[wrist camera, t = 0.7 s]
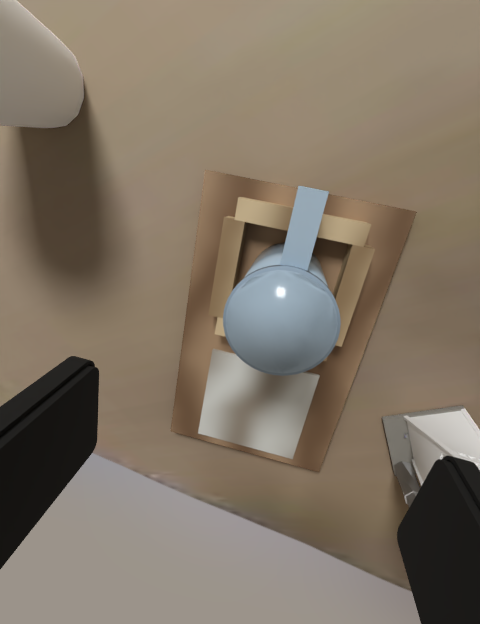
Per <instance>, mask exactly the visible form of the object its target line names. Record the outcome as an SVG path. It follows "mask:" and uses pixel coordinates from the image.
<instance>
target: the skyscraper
mask: <svg viewBox="0 0 480 624" xmlns="http://www.w3.org/2000/svg"><path fill="white" fill-rule="evenodd" d="M382 420H383V425H384V429H385V434H386V439H387V443H388V448H389V452H390V457H391V462H392V466H393V471H394V474H395V476H397V479H398V481H399V484H400V486H401V489H402V491H403V494H404V497H405V502H406V504H408V506H409V508H410V506H411V504H412V502H413V500H414V499H415V497H416V495H417V493H418V491H419V490H420V487H419V484H418V482H417V479H416V476H415V474H417V477H418V479H419V482H420V485H421V486H422V484H423V482H424V481H425V479H426V477H427V475H428V473H429V472H430V470H431V468H432V466H433V464H434V463H435V461H436V460H438V459H441V460H442V458H443V457H445V456H453V457H456V458H460V459H464V460H468V461H471V462H473V463H475V465H476V466H477V467H478V468H479V470H480V430H479V428H478V427H477V425H476V424H475V422H474V421H473V419H472V418H471V417H470V415H469V414H468V412H467V411H466V409H465V408H464V407H463V405H462V406H455V407H448V408H441V409H434V410H427V411H420V412H413V413H406V414H399V415H392V416H385V417H382Z"/></svg>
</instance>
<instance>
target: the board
mask: <svg viewBox="0 0 480 624" xmlns="http://www.w3.org/2000/svg"><path fill="white" fill-rule="evenodd" d="M297 190H298V188H295V187H290V186H285V185H280V184H275V183H270V182H265V181H260V180H255V179H250V178H244V177H239V176H234V175H229V174H224V173H219V172H214V171H209V170H205V175H204V183H203V190H202V198H201V205H200V213H199V220H198V228H197V236H196V243H195V251H194V258H193V266H192V273H191V281H190V288H189V296H188V303H187V311H186V319H185V326H184V334H183V341H182V349H181V356H180V364H179V371H178V379H177V386H176V394H175V402H174V409H173V417H172V424H171V432H175V433H179V434H182V435H186V436H190V437H193V438H197V439H200V440H204V441H208V442H211V443H215V444H219V445H222V446H226V447H230V448H233V449H237V450H240V451H244V452H248V453H251V454H255V455H259V456H262V457H266V458H269V459H273V460H277V461H280V462H284V463H288V464H291V465H295V466H299V467H302V468H306V469H309V470H313V471H317V472H319V471H320V468H321V465H322V463H323V460H324V457H325V455H326V452H327V449H328V447H329V444H330V441H331V439H332V436H333V433H334V431H335V428H336V425H337V423H338V420H339V417H340V415H341V412H342V409H343V407H344V404H345V401H346V399H347V396H348V393H349V391H350V388H351V385H352V383H353V380H354V378H355V375H356V372H357V370H358V367H359V364H360V362H361V359H362V356H363V354H364V351H365V348H366V346H367V343H368V340H369V338H370V335H371V332H372V330H373V327H374V324H375V322H376V319H377V316H378V314H379V311H380V308H381V306H382V303H383V300H384V298H385V295H386V292H387V290H388V287H389V284H390V282H391V279H392V276H393V274H394V271H395V268H396V266H397V263H398V260H399V258H400V255H401V252H402V250H403V247H404V244H405V242H406V239H407V237H408V234H409V231H410V229H411V226H412V223H413V221H414V218H415V215H416V213H417V212H415V211H410V210H405V209H400V208H395V207H390V206H385V205H380V204H375V203H370V202H365V201H360V200H355V199H350V198H345V197H340V196H335V195H330V194H328V197H327V201H326V204H325V208H324V212H323V214H328V215H333V216H338V217H343V218H348V219H353V220H358V221H362V222H367V223H369V224H371V227H370V230H369V233H368V236H367V239H366V242H365V245H369V246H371V247H373V248H374V249H375V251H374V254H373V257H372V260H371V263H370V266H369V269H368V272H367V275H366V277H365V280H364V283H363V286H362V289H361V292H360V295H359V298H358V301H357V304H356V307H355V309H354V312H353V315H352V318H351V321H350V324H349V327H348V330H347V333H346V336H345V339H344V341H343V344H342V347H340V346H336V345H335V346H334V348H333V350H332V351H331V353H330V354H329V355H328V358H327V361H322V362H321V363H320V364H318V365H317V366H316V367H314V368H312V369H310V370H308V371H305V372H303V373H299V374H295V375H286V376H280V375H272V374H267V373H264V372H260V371H258V370H256V369H254V368H252V367H250V366H249V365H247V364H246V363H245V362H243V361H242V360H241V359H240V358H239V357H238V356H237V355H236V354H235V353H234V351H233V350H232V348H231V347H230V345H229V343H228V341H227V339H226V337H225V336H221V335H216V334H215V329H216V323H217V317H215V316H211V315H208V314H209V308H210V301H211V295H212V289H213V283H214V277H215V270H216V264H217V258H218V252H219V246H220V239H221V233H222V227H223V221H224V217H227V216H232V217H235V213H236V208H237V202H238V197H245V198H250V199H255V200H260V201H265V202H269V203H274V204H279V205H284V206H289V207H294V203H295V199H296V194H297ZM287 232H288V231H286V230H281V229H276V228H272V227H267V226H262V225H257V224H253V223H248V224H247V229H246V235H245V240H244V245H243V251H242V256H241V261H240V266H239V272H238V277H237V282H236V285H237V284H238V283H239V282H240V281H241V280H242V279H243V278H244V277H245V275H246V274H247V272H248V270H249V269H250V267H251V266H252V264H253V262H254V261H255V259H256V258H257V257H258V255H259V254H260V253H261V252H262V251H263V250H265V249H266V248H268V247H270V246H272V245H274V244H278V243H283V242H285V241H286V237H287ZM347 246H348V244H347V243H343V242H338V241H333V240H328V239H324V238H319V237H317V238H316V241H315V245H314V249H313V254H314V255H315V256H316V257H317V259H318V260H319V262H320V264H321V267H322V270H323V273H324V276H325V279H326V282H327V285H328V288H329V289H330V291H331V292H332V294H333V291H334V288H335V285H336V282H337V278H338V275H339V272H340V269H341V265H342V262H343V259H344V256H345V253H346V249H347Z"/></svg>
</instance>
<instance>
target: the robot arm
mask: <svg viewBox="0 0 480 624" xmlns="http://www.w3.org/2000/svg"><path fill="white" fill-rule="evenodd" d="M98 390H99V370H98V368H96V367H95V365H94V362H93V361H90V360H86V359H83V358H79V357H75V356H71V357H69V358H67V359H66V360H65V361H63V362H62V363H61V364H59V365H58V366H56V367H55V368H54V369H52V370H51V371H49V372H48V373H47V374H45V375H44V376H42V377H41V378H40V379H38V380H37V381H36V382H34V383H33V384H31V385H30V386H29V387H27V388H26V389H24V390H23V391H22V392H20V393H19V394H17V395H16V396H15V397H13V398H12V399H11V400H9V401H8V402H6V403H5V404H4V405H2V406H1V407H0V569H1V568H2V566H3V565H4V564H5V563H6V561H7V560H8V559H9V558H10V556H11V555H12V554H13V553H14V551H15V550H16V549H17V547H18V546H19V545H20V544H21V542H22V541H23V540H24V539H25V537H26V536H27V535H28V533H29V532H30V531H31V529H32V528H33V527H34V526H35V525H36V523H37V522H38V521H39V520H40V518H41V517H42V516H43V515H44V513H45V512H46V511H47V509H48V508H49V507H50V505H51V504H52V503H53V502H54V501H55V499H56V498H57V497H58V496H59V494H60V493H61V492H62V490H63V489H64V488H65V487H66V485H67V484H68V483H69V482H70V480H71V479H72V478H73V477H74V475H75V474H76V473H77V471H78V470H79V469H80V467H81V466H82V465H83V464H84V462H85V461H86V460H87V459H88V458H89V456H90V455H91V454H92V452H93V450H94V449H95V446H96V443H97V425H98ZM397 539H398V544H399V548H400V551H401V555H402V558H403V562H404V565H405V569H406V572H407V576H408V579H409V583H410V586H411V590H412V593H413V596H414V600H415V603H416V607H417V610H418V613H419V617H420V621H421V624H480V470H479V468H478V467H477V466H476V465H475V463H473V462H471V461H468V460H464V459H460V458H456V457H453V456H445V457H443V458H442V460H441V459H438V460H436V461H435V463H434V464H433V466H432V468H431V470H430V472H429V473H428V475H427V477H426V479H425V481H424V482H423V484H422V486H421V488H420V490H419V491H418V493H417V495H416V497H415V499H414V500H413V502H412V504H411V506H410V508H409V509H408V511H407V513H406V515H405V517H404V518H403V520H402V522H401V524H400V526H399V528H398V532H397Z"/></svg>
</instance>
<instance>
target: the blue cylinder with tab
mask: <svg viewBox="0 0 480 624" xmlns="http://www.w3.org/2000/svg"><path fill="white" fill-rule="evenodd" d="M328 193H329V191H323V190H318V189H313V188H308V187H303V186H298V190H297V194H296V199H295V203H294V207H293V211H292V216H291V220H290V224H289V228H288V232H287V237H286V241H285V242H283V243H278V244H274V245H272V246H270V247H268V248H266V249H265V250H263V251H262V252H261V253H260V254H259V255H258V257H257V258H256V259H255V261H254V262H253V264H252V266H251V267H250V269H249V270H248V272H247V274H246V275H245V277H244V278H243V279H242V280H241V281H240V282H239V283H238V284H237V285H236V287H235V288H234V289H233V291H232V292H231V294H230V296H229V297H228V300H227V302H226V304H225V308H224V313H223V327H224V332H225V336H226V339H227V341H228V343H229V345H230V347H231V348H232V350H233V351H234V353H235V354H236V355H237V356H238V357H239V358H240V359H241V360H242V361H243V362H245V363H246V364H247V365H249V366H250V367H252V368H254V369H256V370H258V371H260V372H264V373H267V374H272V375H280V376H286V375H295V374H299V373H303V372H305V371H308V370H310V369H312V368H314V367H316V366H317V365H318V364H320V363H321V362H322V361H323V360H324V359H326V358H327V357H328V355H329V354H330V353H331V351H332V350H333V348H334V346H335V345H336V342H337V340H338V337H339V333H340V325H341V322H340V313H339V308H338V306H337V303H336V300H335V298H334V296H333V294H332V292H331V291H330V289H329V288H328V285H327V282H326V279H325V276H324V273H323V270H322V267H321V264H320V262H319V260H318V259H317V257H316V256H315V255H314V254H313V249H314V245H315V241H316V238H317V234H318V230H319V226H320V223H321V219H322V215H323V212H324V208H325V204H326V201H327V197H328Z"/></svg>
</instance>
